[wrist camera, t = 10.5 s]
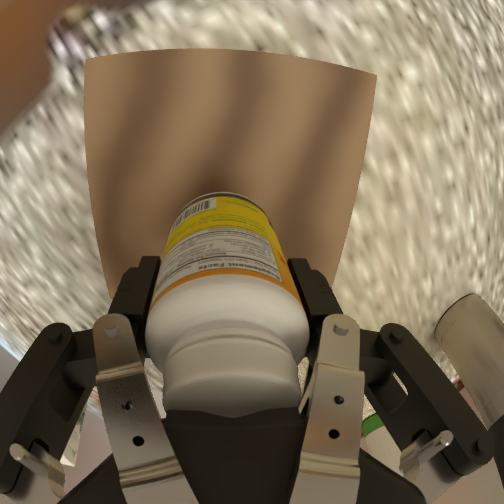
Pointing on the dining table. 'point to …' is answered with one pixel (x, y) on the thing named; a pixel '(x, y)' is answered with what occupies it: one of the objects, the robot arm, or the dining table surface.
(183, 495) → the robot arm
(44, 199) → the dining table surface
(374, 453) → the wine bottle
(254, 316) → the supplement bottle
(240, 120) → the walnut board
